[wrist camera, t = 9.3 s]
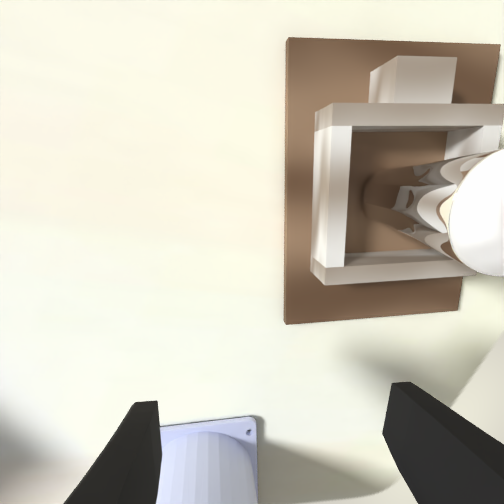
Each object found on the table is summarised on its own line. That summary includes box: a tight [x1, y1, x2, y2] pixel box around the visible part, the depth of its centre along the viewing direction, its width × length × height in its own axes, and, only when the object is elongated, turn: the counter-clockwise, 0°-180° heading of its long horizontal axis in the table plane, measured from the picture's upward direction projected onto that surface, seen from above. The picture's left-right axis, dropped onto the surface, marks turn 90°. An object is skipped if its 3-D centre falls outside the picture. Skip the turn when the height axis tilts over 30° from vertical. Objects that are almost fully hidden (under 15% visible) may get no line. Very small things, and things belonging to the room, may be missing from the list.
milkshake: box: [361, 148, 504, 277], centre depth 14 cm, size 4×5×10 cm
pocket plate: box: [284, 37, 504, 325], centre depth 18 cm, size 16×12×3 cm
